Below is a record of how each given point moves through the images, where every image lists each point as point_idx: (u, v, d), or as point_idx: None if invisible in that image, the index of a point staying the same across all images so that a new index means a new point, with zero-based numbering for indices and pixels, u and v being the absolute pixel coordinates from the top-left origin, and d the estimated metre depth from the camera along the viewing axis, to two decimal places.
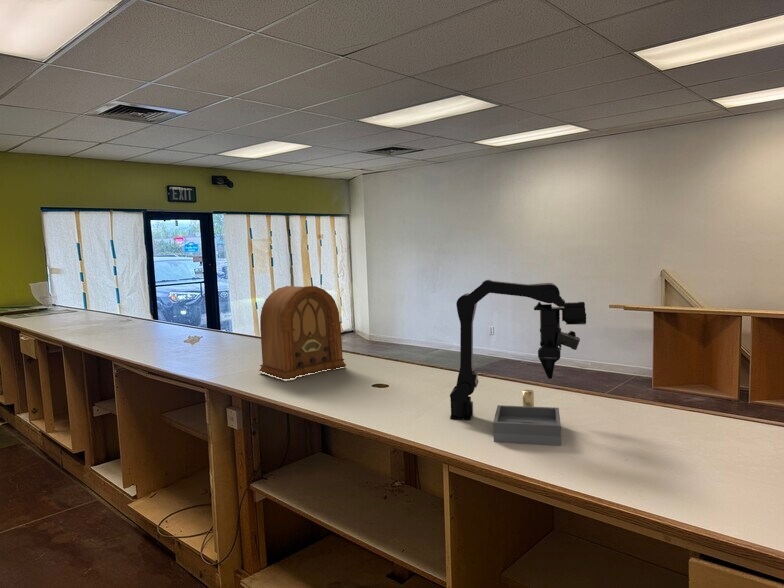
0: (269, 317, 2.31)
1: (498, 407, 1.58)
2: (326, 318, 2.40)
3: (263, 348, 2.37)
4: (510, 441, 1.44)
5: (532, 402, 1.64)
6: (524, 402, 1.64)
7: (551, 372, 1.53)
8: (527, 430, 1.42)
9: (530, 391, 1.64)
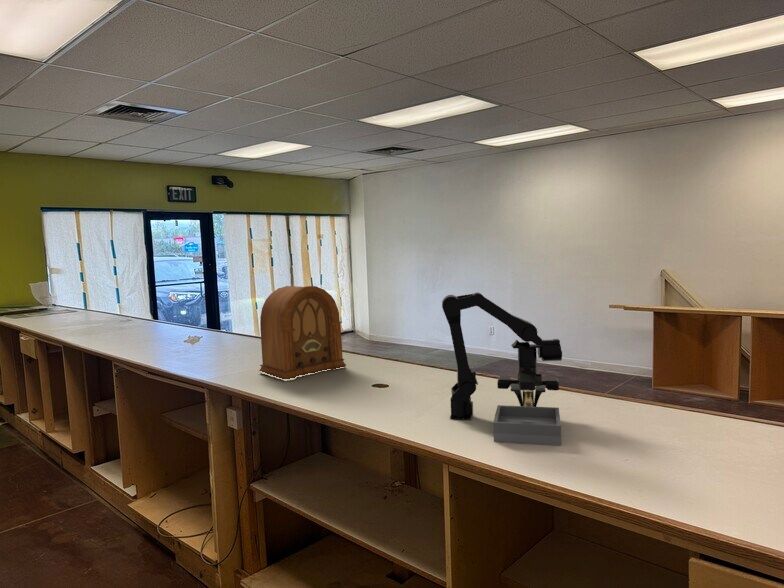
0: (269, 317, 2.31)
1: (498, 407, 1.58)
2: (326, 318, 2.40)
3: (263, 348, 2.37)
4: (510, 441, 1.44)
5: (532, 402, 1.64)
6: (524, 402, 1.64)
7: None
8: (527, 430, 1.42)
9: (530, 391, 1.64)
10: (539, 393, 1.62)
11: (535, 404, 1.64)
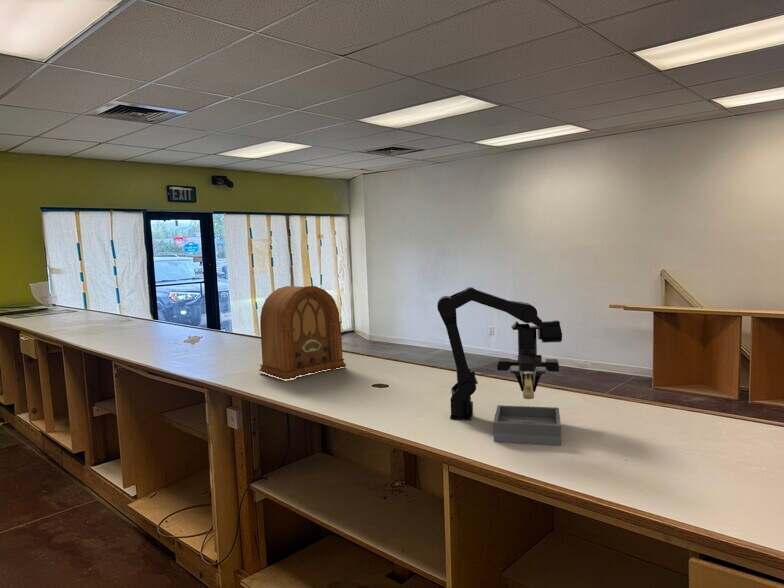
0: (269, 317, 2.31)
1: (498, 407, 1.58)
2: (326, 318, 2.40)
3: (263, 348, 2.37)
4: (510, 441, 1.44)
5: (532, 384, 1.63)
6: (524, 384, 1.64)
7: None
8: (527, 430, 1.42)
9: (530, 373, 1.64)
10: (539, 375, 1.61)
11: (535, 386, 1.63)
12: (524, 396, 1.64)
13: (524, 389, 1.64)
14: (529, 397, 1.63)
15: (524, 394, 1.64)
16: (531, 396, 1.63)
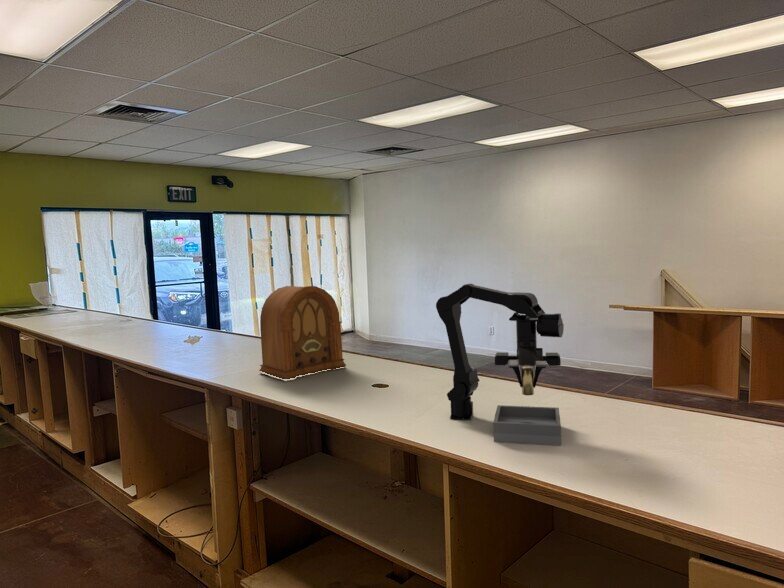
0: (269, 317, 2.31)
1: (498, 407, 1.58)
2: (326, 318, 2.40)
3: (263, 348, 2.37)
4: (510, 441, 1.44)
5: (532, 379, 1.53)
6: (523, 379, 1.54)
7: (518, 380, 1.55)
8: (527, 430, 1.42)
9: (529, 367, 1.54)
10: (539, 369, 1.51)
11: (535, 381, 1.53)
12: (523, 392, 1.54)
13: (523, 385, 1.54)
14: (529, 393, 1.53)
15: (523, 390, 1.54)
16: (531, 392, 1.53)
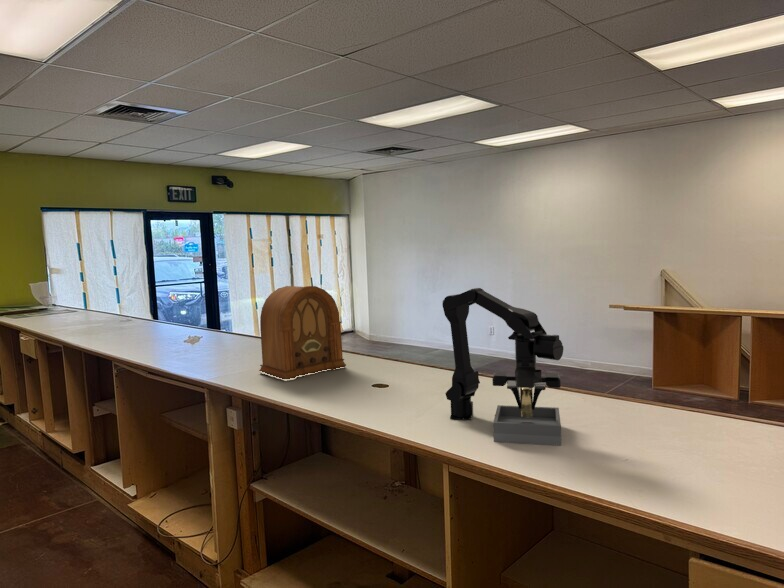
0: (269, 317, 2.31)
1: (498, 407, 1.58)
2: (326, 318, 2.40)
3: (263, 348, 2.37)
4: (510, 441, 1.44)
5: (531, 401, 1.48)
6: (522, 401, 1.49)
7: (517, 401, 1.50)
8: (527, 430, 1.42)
9: (529, 389, 1.49)
10: (538, 391, 1.46)
11: (534, 403, 1.48)
12: (522, 414, 1.49)
13: (521, 406, 1.49)
14: (527, 415, 1.48)
15: (522, 412, 1.49)
16: (530, 414, 1.48)
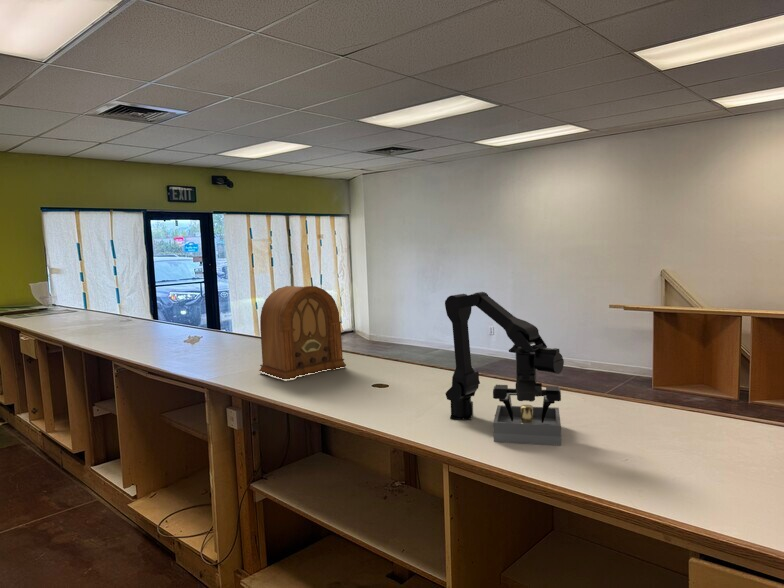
0: (269, 317, 2.31)
1: (498, 407, 1.58)
2: (326, 318, 2.40)
3: (263, 348, 2.37)
4: (510, 441, 1.44)
5: (531, 419, 1.49)
6: (522, 419, 1.49)
7: (509, 414, 1.51)
8: (527, 430, 1.42)
9: (529, 406, 1.49)
10: (548, 404, 1.46)
11: (543, 416, 1.48)
12: None
13: None
14: None
15: None
16: None
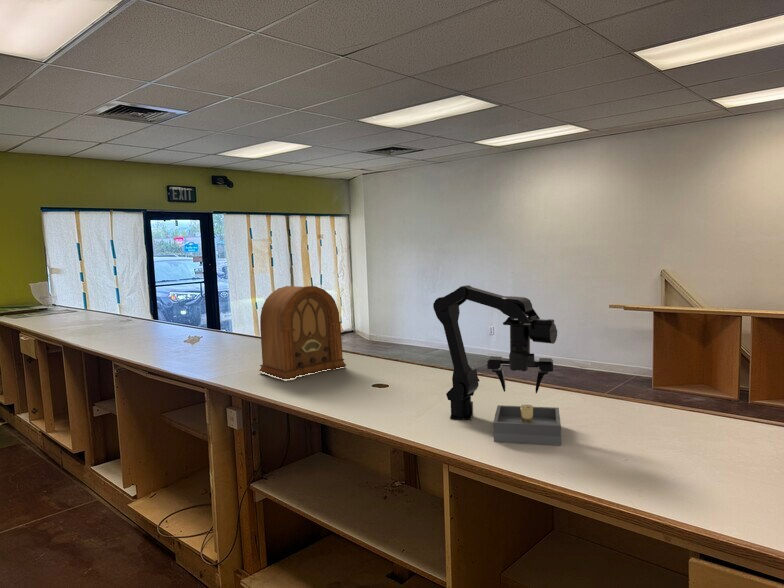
0: (269, 317, 2.31)
1: (498, 407, 1.58)
2: (326, 318, 2.40)
3: (263, 348, 2.37)
4: (510, 441, 1.44)
5: (531, 419, 1.49)
6: (522, 419, 1.49)
7: (501, 384, 1.55)
8: (527, 430, 1.42)
9: (529, 406, 1.49)
10: (541, 375, 1.50)
11: (537, 387, 1.51)
12: None
13: None
14: None
15: None
16: None
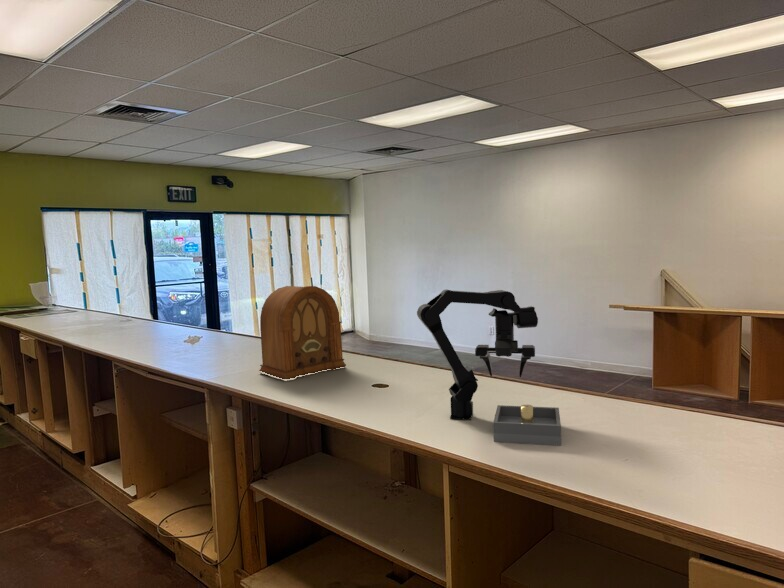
0: (269, 317, 2.31)
1: (498, 407, 1.58)
2: (326, 318, 2.40)
3: (263, 348, 2.37)
4: (510, 441, 1.44)
5: (531, 419, 1.49)
6: (522, 419, 1.49)
7: None
8: (527, 430, 1.42)
9: (529, 406, 1.49)
10: (524, 360, 1.64)
11: (521, 371, 1.66)
12: None
13: None
14: None
15: None
16: None
